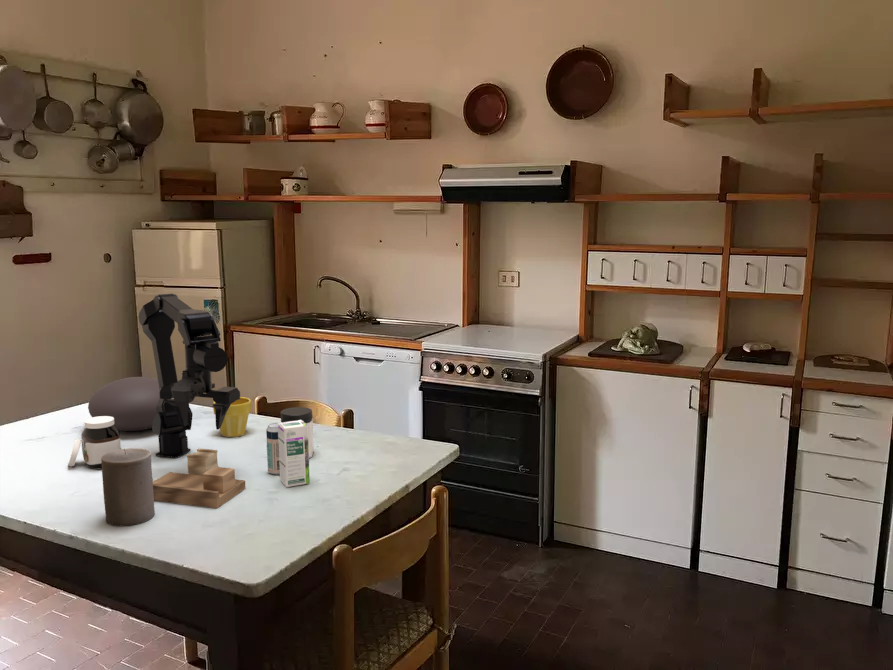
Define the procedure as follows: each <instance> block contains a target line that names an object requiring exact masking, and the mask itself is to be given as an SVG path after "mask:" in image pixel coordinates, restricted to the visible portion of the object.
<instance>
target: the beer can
mask: <svg viewBox="0 0 893 670" xmlns="http://www.w3.org/2000/svg"><path fill="white" fill-rule="evenodd" d="M278 423H279V422H273V423H269V424H268V425H267V427H266V429H265V430H266V431H265V432H266V451H267V452H266V453H267V454H266V456H267V457H266V459H267V472H268V473H269V474H272V475H276V476H277V475H280V465H279V441H278Z"/></svg>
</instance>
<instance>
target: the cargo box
mask: <svg viewBox="0 0 893 670" xmlns="http://www.w3.org/2000/svg"><path fill="white" fill-rule="evenodd" d="M235 471H236V470H235V468H231V467H222V466H218V467H214V468H212V469H210V470H209V471H207V472H205V473H204V474H203V490H212V491H219V493H225V492H226V491H228V490H229V489H231V488H232V487H234V486H235V479H236V472H235Z"/></svg>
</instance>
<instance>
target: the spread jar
mask: <svg viewBox="0 0 893 670" xmlns="http://www.w3.org/2000/svg"><path fill="white" fill-rule="evenodd" d="M80 436H81V437H80V439H79V438H75V441H74V444H73V447H72V451H71V454H70V458H69V461H68V465H67V467H72V466H73V467H75V464H76V462H77V461H76V460H77V457H78V454H79V451H80V447H81V451H82V452H81V453H82V458H83V461H84V464H85V465H86V467H88V468H89V467H90V468H89V469H94V468H100V469H102V462H101V458H102V456H103V455H105V454H106V453H108V452H112V451H115V450H121V449H122V447H121V445H122V444H121V435H120V433H119V430H117V428H116V427H115V426H114V418H113V417H111V416H98V417H92V416H91V417H89V418H86V419H85V420H84V429H83V430H82V432H81V435H80Z"/></svg>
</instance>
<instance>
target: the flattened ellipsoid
mask: <svg viewBox="0 0 893 670" xmlns="http://www.w3.org/2000/svg"><path fill="white" fill-rule="evenodd" d="M159 391H160V388H159V383H158V378H155V377H149V376H131V377H125V378H120V379H117V380H113V381H110V382H109V383H107V384H105V385H102V386H101V387H100V388H98V389H97V390H96V391H94V393H93V394H92V396H91V397H90V399H89V400H88V404H87V405H88V406H87V409H88V413H89V415H90V417H91V418H92V417H98V416H111V417H113V418H114V426H115V427H116V428H117V430H118V431H120V432H121V431H122V432H137V431H139V432H140V431H143V430H148V429H152V422H153V420H154V417H155V415H156V406H157V403H158V401H159V399H160V395H159Z"/></svg>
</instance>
